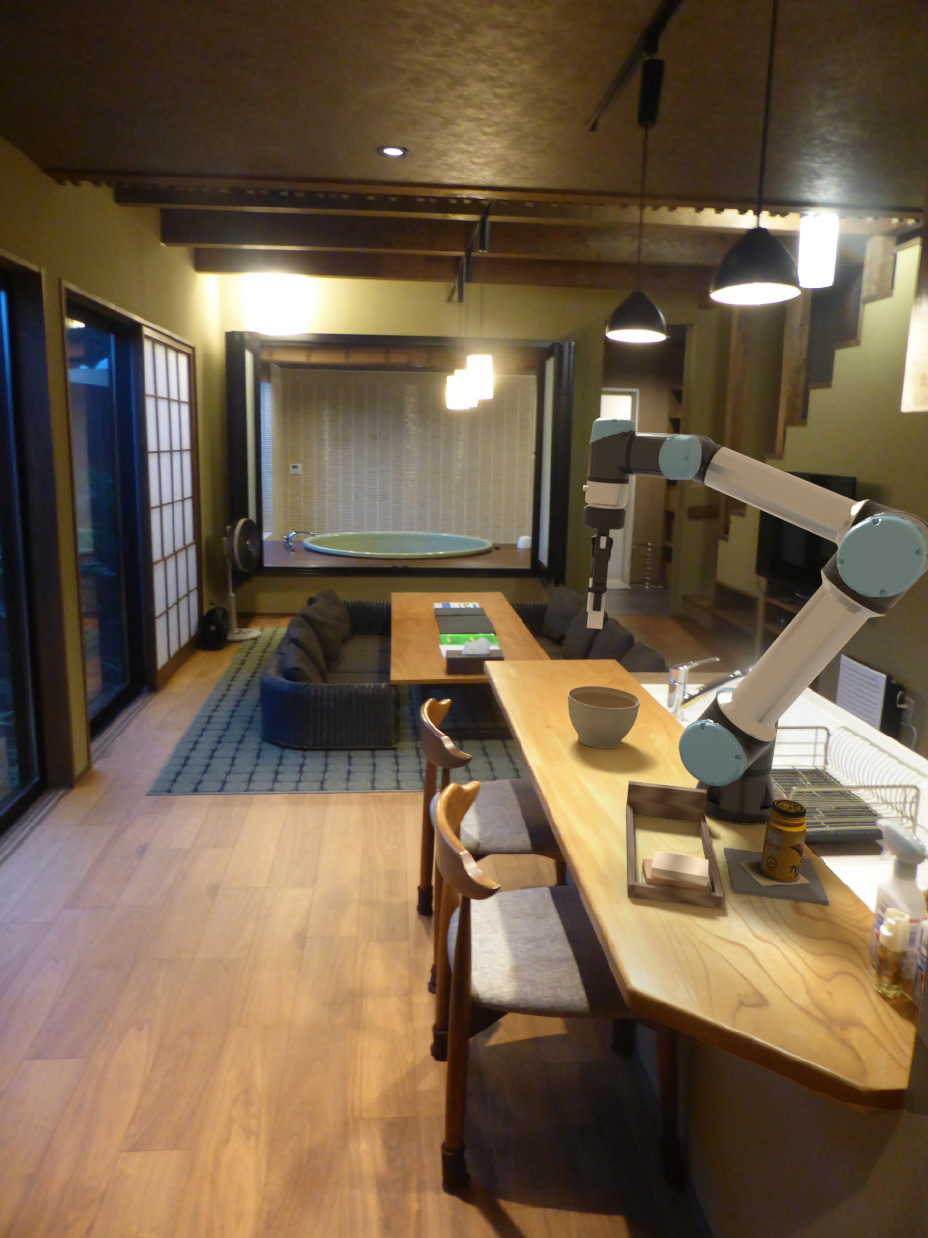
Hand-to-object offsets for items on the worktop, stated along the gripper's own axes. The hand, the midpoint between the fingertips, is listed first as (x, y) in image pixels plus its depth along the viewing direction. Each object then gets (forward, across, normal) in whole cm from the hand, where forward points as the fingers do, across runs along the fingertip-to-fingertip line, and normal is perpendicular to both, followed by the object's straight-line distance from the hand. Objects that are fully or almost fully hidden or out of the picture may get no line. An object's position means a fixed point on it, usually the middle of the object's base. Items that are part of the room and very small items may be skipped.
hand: (594, 619), depth 164 cm
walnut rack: (+34, +23, +16) cm, 44 cm away
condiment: (+34, +26, +32) cm, 53 cm away
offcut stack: (+34, +34, +15) cm, 50 cm away
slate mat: (+34, +26, +32) cm, 53 cm away
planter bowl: (+35, -29, +5) cm, 45 cm away
